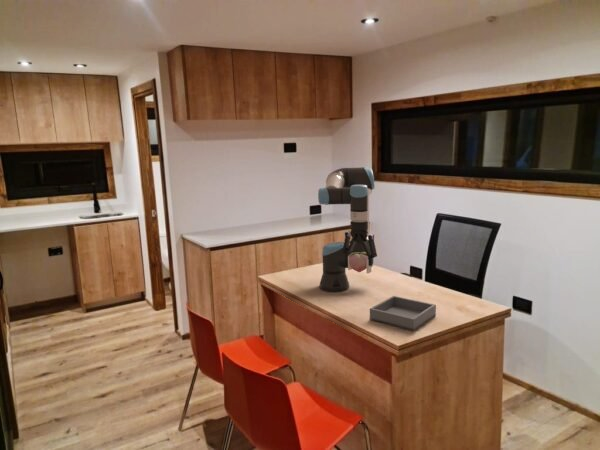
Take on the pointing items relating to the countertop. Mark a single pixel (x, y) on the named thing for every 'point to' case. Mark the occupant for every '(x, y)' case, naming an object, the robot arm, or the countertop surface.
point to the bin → (403, 313)
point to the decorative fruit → (358, 261)
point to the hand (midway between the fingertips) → (359, 270)
